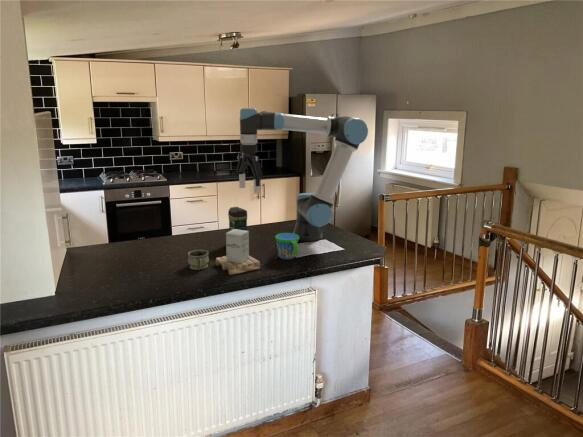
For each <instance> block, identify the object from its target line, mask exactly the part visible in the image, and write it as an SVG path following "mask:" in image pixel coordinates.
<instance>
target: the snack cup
mask: <svg viewBox="0 0 583 437" xmlns="http://www.w3.org/2000/svg"><path fill="white" fill-rule="evenodd" d="M274 240H275V241H276V243H275V244H276V247H277V253H278V254H277V255H278V257H279V258H280V259H282V260H284V261H285V260H286V261H289V260H293V259H295V257H296V256H297V255H299V247H298V242H299V241H300V240H299V236H298V235H297V234H293V232H280V233H278V234H276V235H275V238H274Z"/></svg>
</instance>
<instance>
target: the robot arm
mask: <svg viewBox="0 0 583 437" xmlns="http://www.w3.org/2000/svg"><path fill="white" fill-rule="evenodd" d="M280 130H281V131H282V130H283V131H290V132H291V131H293V132H303V133H312V134H313V133H314V134H322V135H324V136H325V137H328V138H329V137H330V138H331V137H332V138H334V143H335V146H334V148H333V151H332V153H331V156H330V158H329V161H328V162H327V165H326V166H325V170H324V172H323V174H322V176H321V179H320V181H319V184H318V186H317V189H316V191H314V192H302V193H298V194H297V195H296V221H295V225H294V229H293V231H292V233H293V234H297V235H298V236H299V240H298V241H302V242H315V241H319V240H321V239H322V238H323V232H322V229H321V227H324V226H326V225H327V224H328V223H330V221H331V220H332V217H333V212H332V209H333V206H334V203H335V202H334V200H333V198H334V196H335V193H336V191H337V188H338V186H339V185H340V182H341V180H342V177H343V175H344V173H345V170H346V168H347V166H348V164H349V161H350V158H351V157H352V155H353V153H354V152H356V151H358V148H359V146H360V144H362V143H364V142H365V141H366V139H367V137H368V134H369V128H368V126H367V123H366V122H365V121H364V120H363V119H361V118H359V117H356V116H354V117H353V116H346V115H345V116H326V117H321V116H320V117H317V116H307V115H300V114H299V115H298V114H290V113H282V112H272V111H265V110H263V111H260V112H258V109H257V108H255V107H254V108H253V107H243V108H241V109H240V110H239V134H240V136H239V139H240V143H241V144H240V149H239V150H240V153H238V154H239V156H238V163H237V166H236V170H235V171H236V173H237V174H238V179H239V180H238V182H239V184H238V185H239V189H245V188H246V170H247V168H248V166H249V167H250V169H251V172H252V174H253V194H255V195H256V194H261V179H263V177H264V176H263V175H264V174H263V171H262V167H261V162H260V156H259V155H255V154H256V153H258V131H280Z"/></svg>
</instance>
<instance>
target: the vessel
mask: <svg viewBox="0 0 583 437" xmlns="http://www.w3.org/2000/svg"><path fill="white" fill-rule="evenodd" d="M187 255H188V256H187V263H188V264H189V269H191V270H195V271H197V270H198V271H199V270H200V269H201V270H204V268H205V269H206V268H208V266H209V265H208V263H209V261H210V259H209V251H208V250H206V249H194V250H191V251H189V252H187ZM201 270H200V271H201Z"/></svg>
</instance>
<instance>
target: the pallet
mask: <svg viewBox="0 0 583 437" xmlns="http://www.w3.org/2000/svg"><path fill="white" fill-rule="evenodd" d="M215 265H216V266H217V267H219V266H221V269H222V270H223V271H227V272H228V275H230V276H232V275H236V274H241V273H245V272H250V271H254V270H258V269H261V262H260V260H258V259H256V258H254V257H252V256H251V255H249V259H247V260H246V261H244V262H243V263H236V262H230V261H227V257H226V255H224V256H220V257H219V256H218V257H216V258H215Z"/></svg>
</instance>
